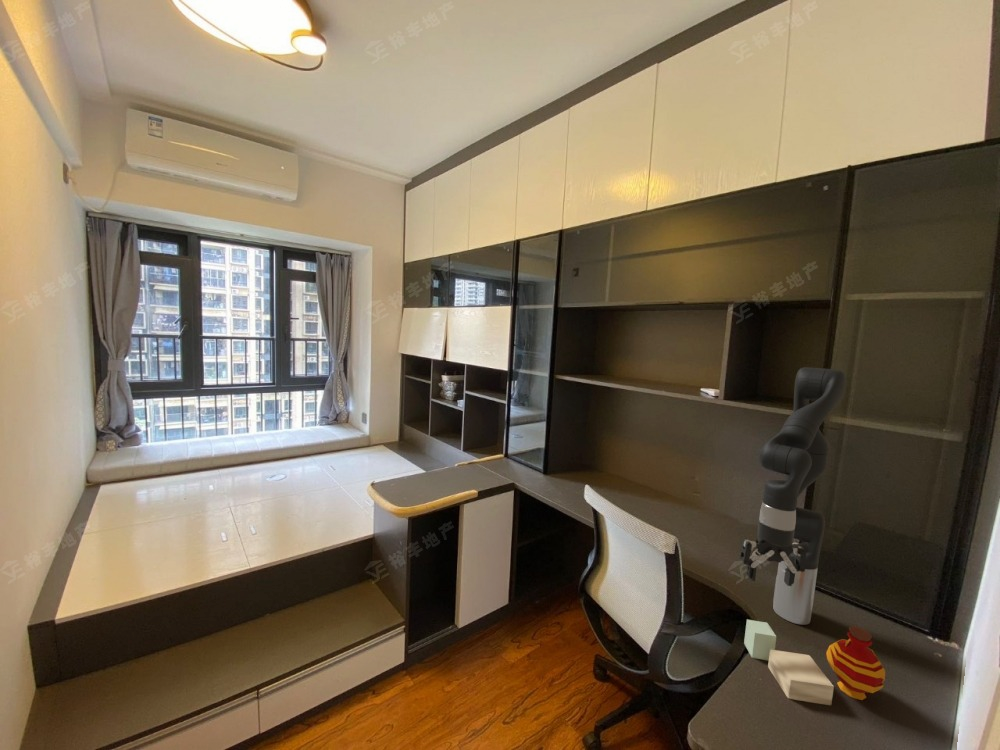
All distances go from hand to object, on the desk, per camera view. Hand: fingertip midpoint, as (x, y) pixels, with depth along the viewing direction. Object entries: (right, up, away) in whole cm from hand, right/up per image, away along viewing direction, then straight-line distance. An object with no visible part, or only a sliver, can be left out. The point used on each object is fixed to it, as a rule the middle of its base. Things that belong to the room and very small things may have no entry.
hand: (769, 581), depth 103 cm
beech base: (+2, -21, -7) cm, 23 cm away
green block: (-1, -20, +2) cm, 20 cm away
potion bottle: (+14, -22, -8) cm, 27 cm away
